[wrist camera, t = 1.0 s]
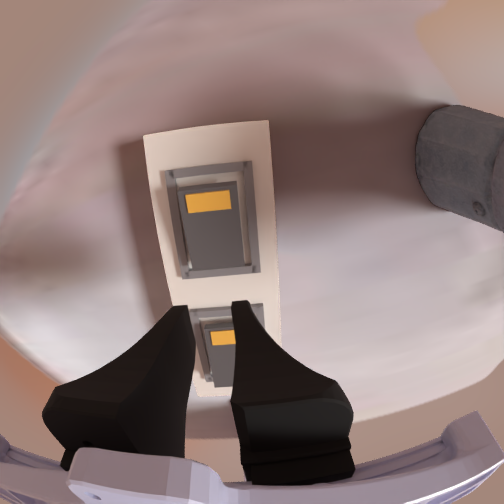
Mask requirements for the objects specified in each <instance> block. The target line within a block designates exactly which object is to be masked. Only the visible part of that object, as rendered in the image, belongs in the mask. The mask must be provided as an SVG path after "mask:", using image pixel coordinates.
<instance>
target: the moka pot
mask: <svg viewBox="0 0 504 504" xmlns="http://www.w3.org/2000/svg"><path fill="white" fill-rule="evenodd" d="M415 161H416V164H415V166H416V173H417V176H418V179H419V182H420V184H421V186H422V188H423V190H424V192H425V194H426V195H427V197H428V198H429V200H430V201H431V202H432V203H433V204H434V205H436V206H438V207H441V208H443V209H446V210H448V211H451V212H453V213H456V214H458V215H461V216H463V217H466V218H469V219H472V220H475V221H477V222H480V223H482V224H485V225H487V226H490V227H492V228H494V229H497V230H499V231H502V232H503V233H504V118H503V117H499V116H496V115H493V114H490V113H486V112H483V111H480V110H476V109H472V108H470V107H466V106H461V105H453V106H449V107H444V108H441V109H438V110H435V111H434V112H433V113H432V114H431V115H430V116H429V117H428V119H427V120H426V122H425V124H424V126H423V127H422V129H421V131H420V132H419V136H418V141H417V144H416V158H415Z"/></svg>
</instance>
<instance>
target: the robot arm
mask: <svg viewBox="0 0 504 504" xmlns="http://www.w3.org/2000/svg"><path fill="white" fill-rule="evenodd" d="M231 314H232V321H233V328H234V335H235V342H236V345H235V366H234V379H233V388H232V395H231V401H230V402H231V406H232V411H233V415H234V420H235V424H236V429H237V433H238V438H239V442H240V455H241V465H242V466H243V470H244V482H222V481H221V479H220V476H219V475H218V474H217V473H216V472H215V471H213V470H212V469H211V468H210V467H209V466H207V465H205V464H203V463H200V462H197V461H194V460H191V459H185V456H184V455H185V454H184V452H185V450H184V449H185V446H184V445H185V421H186V409H187V402H188V397H189V392H190V386H191V381H192V376H193V371H194V366H195V355H196V341H195V336H194V332H193V328H192V323H191V319H190V315H189V310H188V305H177V306H173V307H172V308H171V309H170V310H169V311H168V312H167V313H166V314H165V315H164V316H163V317H162V318H161V319H160V320H159V321H158V322H157V323H156V324H155V325H154V327H153V328H152V329H151V330H150V331H149V332H148V333H146V334H145V335H144V336H143V337H142V338H141V339H140V340H139V341H138V342H137V343H136V344H134V345H133V346H132V347H131V348H130V349H128V350H127V351H126V352H124V353H123V354H122V355H120V356H119V357H117V358H116V359H114V360H113V361H111V362H110V363H108V364H106V365H105V366H103V367H101V368H100V369H98V370H96V371H94V372H92V373H90V374H88V375H86V376H84V377H81V378H79V379H77V380H74V381H71V382H69V383H66V384H63V385H60V386H57V387H55V389H54V390H53V392H52V394H51V396H50V398H49V400H48V402H47V404H46V406H45V407H44V409H43V411H42V417H43V421H44V423H45V425H46V426H47V428H48V429H49V431H50V432H51V433H52V434H53V435H54V437H55V438H56V439H57V440H58V441H59V442H60V444H61V445H62V446H63V447H64V448H65V449H66V450H65V452H64V455H63V458H62V460H61V462H59V461H55V460H52V459H49V458H45V457H42V456H39V455H36V454H33V453H30V452H28V451H25V450H22V449H19V448H17V447H14V446H12V445H10V444H9V442H8V441H7V440H6V439H5V438H4V437H3V436H2V435H1V434H0V498H2V499H4V500H6V501H8V502H10V503H11V504H451V503H453V502H454V501H456V500H458V499H460V498H462V497H464V496H465V495H467V494H469V493H471V492H472V491H474V490H475V489H476V488H477V487H478V486H479V485H480V484H482V483H483V482H484V481H485V480H486V479H487V478H488V477H489V476H490V475H491V474H492V473H493V472H494V471H495V470H496V469H497V468H498V467H499V466H500V465H501V464H502V463H503V462H504V452H503V451H502V449H501V447H500V445H499V444H498V442H497V440H496V439H495V437H494V436H493V434H492V433H491V431H490V429H489V428H488V426H487V425H486V423H485V422H484V420H483V418H482V417H481V415H480V414H479V412H478V411H473V412H471V413H469V414H467V415H465V416H463V417H461V418H458V419H456V420H454V421H453V422H451V423H450V424H449V425H447V427H446V428H445V429H444V431H443V433H442V435H441V436H440V437H438V438H436V439H433V440H431V441H428V442H426V443H423V444H421V445H418V446H415V447H413V448H410V449H407V450H404V451H401V452H399V453H395V454H392V455H389V456H386V457H382V458H379V459H376V460H372V461H369V462H365V463H361V464H357V465H354V462H353V459H352V456H351V453H350V449H351V444H350V441H349V437H348V435H349V432H350V428H351V425H352V422H353V413H354V412H353V410H352V407H351V404H350V402H349V400H348V398H347V397H346V395H345V393H344V392H343V390H342V389H341V387H340V386H339V384H338V383H337V382H336V381H335V380H333V379H330V378H328V377H326V376H323V375H321V374H319V373H317V372H315V371H313V370H311V369H309V368H308V367H306V366H304V365H303V364H301V363H300V362H299V361H297V360H296V359H294V358H293V357H292V356H290V355H289V354H288V353H287V352H286V351H284V350H283V349H282V348H281V347H280V346H279V345H278V344H277V343H276V342H275V341H274V340H273V339H272V338H271V336H270V335H269V334H268V333H267V332H266V330H265V329H264V328H263V326H262V325H261V323H260V322H259V320H258V319H257V317H256V316H255V314H254V312H253V310H252V308H251V305H250V302H249V301H248V300H241V301H232V304H231Z"/></svg>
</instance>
